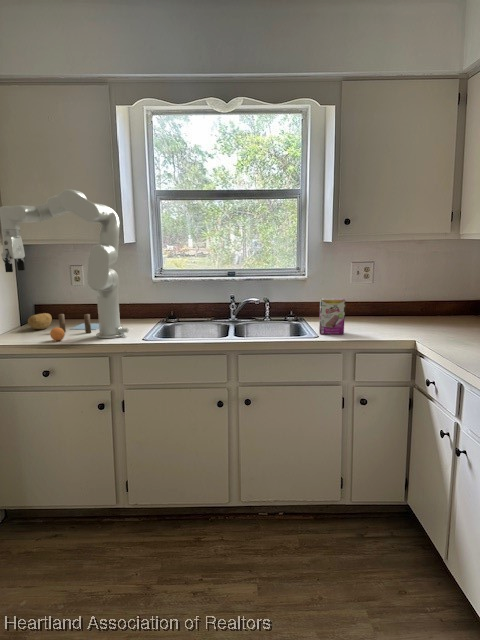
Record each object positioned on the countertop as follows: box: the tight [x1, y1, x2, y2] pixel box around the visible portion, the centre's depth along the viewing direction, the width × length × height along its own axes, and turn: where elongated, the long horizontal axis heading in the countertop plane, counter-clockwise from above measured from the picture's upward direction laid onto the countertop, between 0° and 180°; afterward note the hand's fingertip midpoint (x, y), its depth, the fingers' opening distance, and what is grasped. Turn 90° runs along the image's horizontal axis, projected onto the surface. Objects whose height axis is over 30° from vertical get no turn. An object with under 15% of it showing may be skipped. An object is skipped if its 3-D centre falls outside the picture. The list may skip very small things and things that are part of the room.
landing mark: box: [69, 322, 99, 331], centre depth 226 cm, size 14×14×1 cm
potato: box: [27, 312, 53, 330], centre depth 221 cm, size 10×14×8 cm
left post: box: [58, 313, 67, 333], centre depth 212 cm, size 3×3×9 cm
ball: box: [49, 326, 66, 341], centre depth 196 cm, size 6×6×6 cm
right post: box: [83, 313, 92, 334], centre depth 210 cm, size 3×3×9 cm
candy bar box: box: [318, 297, 346, 336], centre depth 202 cm, size 11×5×16 cm, turn 85°
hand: (15, 271), depth 203 cm, fingers open, 9 cm apart
